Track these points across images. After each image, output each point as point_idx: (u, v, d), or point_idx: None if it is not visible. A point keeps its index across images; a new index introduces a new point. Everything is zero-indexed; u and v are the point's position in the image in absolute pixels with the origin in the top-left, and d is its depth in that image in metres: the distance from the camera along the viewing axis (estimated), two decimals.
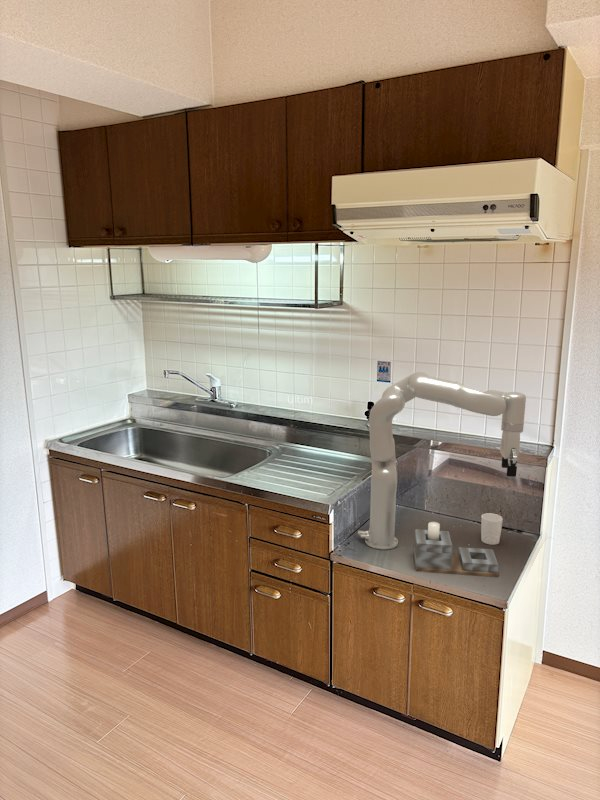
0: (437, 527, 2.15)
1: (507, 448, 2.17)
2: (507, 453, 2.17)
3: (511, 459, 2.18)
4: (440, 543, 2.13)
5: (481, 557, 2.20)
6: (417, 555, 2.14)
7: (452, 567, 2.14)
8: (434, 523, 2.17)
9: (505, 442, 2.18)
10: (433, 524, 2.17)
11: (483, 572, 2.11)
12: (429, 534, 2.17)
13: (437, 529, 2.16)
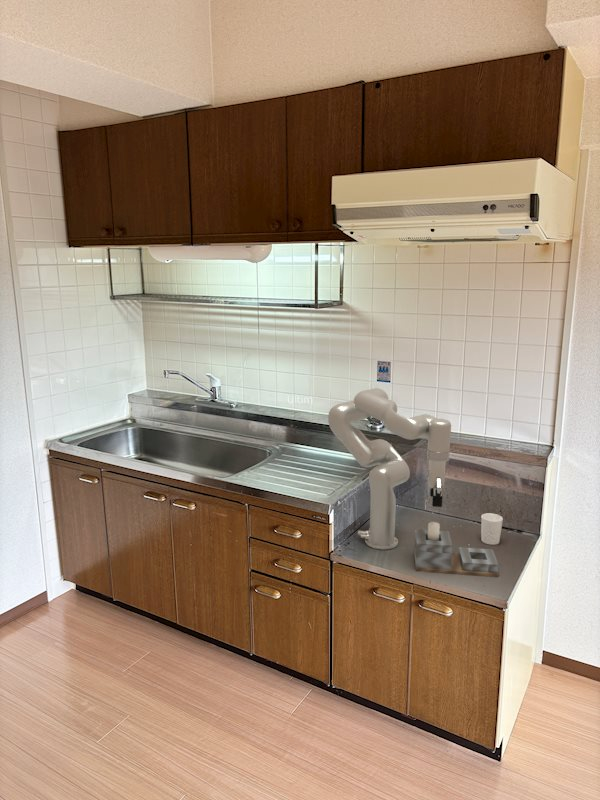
0: (437, 527, 2.15)
1: (432, 477, 2.08)
2: (432, 482, 2.09)
3: (437, 489, 2.10)
4: (440, 543, 2.13)
5: (481, 557, 2.20)
6: (417, 555, 2.14)
7: (452, 567, 2.14)
8: (434, 523, 2.17)
9: (430, 471, 2.10)
10: (433, 524, 2.17)
11: (483, 572, 2.11)
12: (429, 534, 2.17)
13: (437, 529, 2.16)
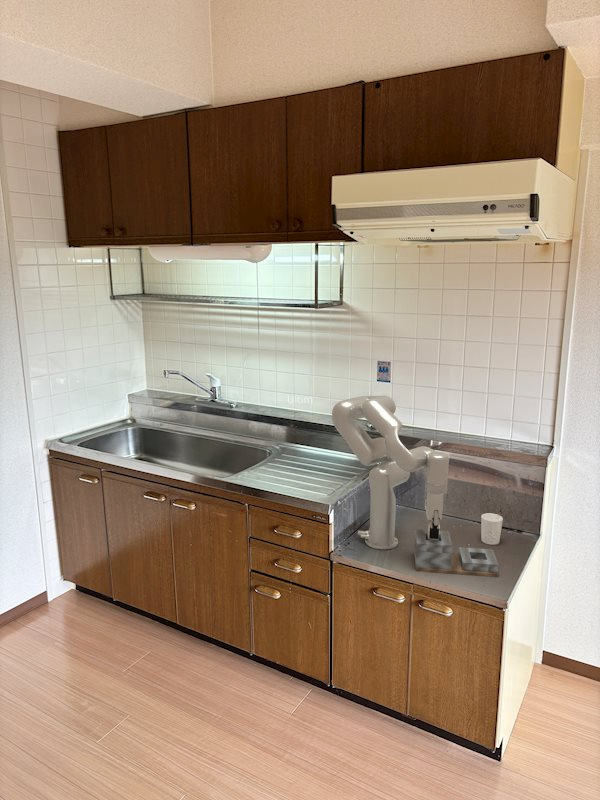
0: None
1: (430, 510, 2.11)
2: (430, 515, 2.11)
3: (434, 521, 2.14)
4: (440, 543, 2.13)
5: (481, 557, 2.20)
6: (417, 555, 2.14)
7: (452, 567, 2.14)
8: None
9: (428, 503, 2.12)
10: None
11: (483, 572, 2.11)
12: None
13: None
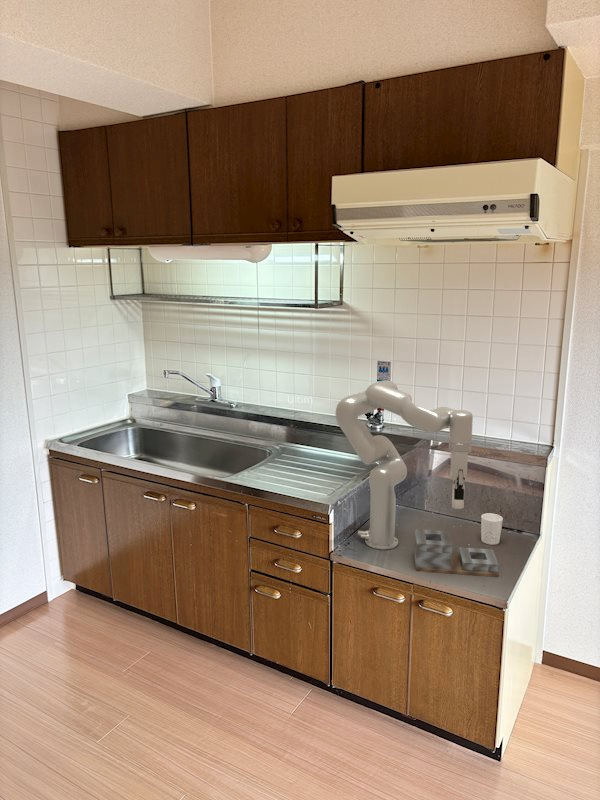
0: None
1: (454, 469, 2.07)
2: (454, 474, 2.07)
3: (458, 481, 2.10)
4: (440, 543, 2.13)
5: (481, 557, 2.20)
6: (417, 555, 2.14)
7: (452, 567, 2.14)
8: None
9: (452, 463, 2.08)
10: None
11: (483, 572, 2.11)
12: None
13: None
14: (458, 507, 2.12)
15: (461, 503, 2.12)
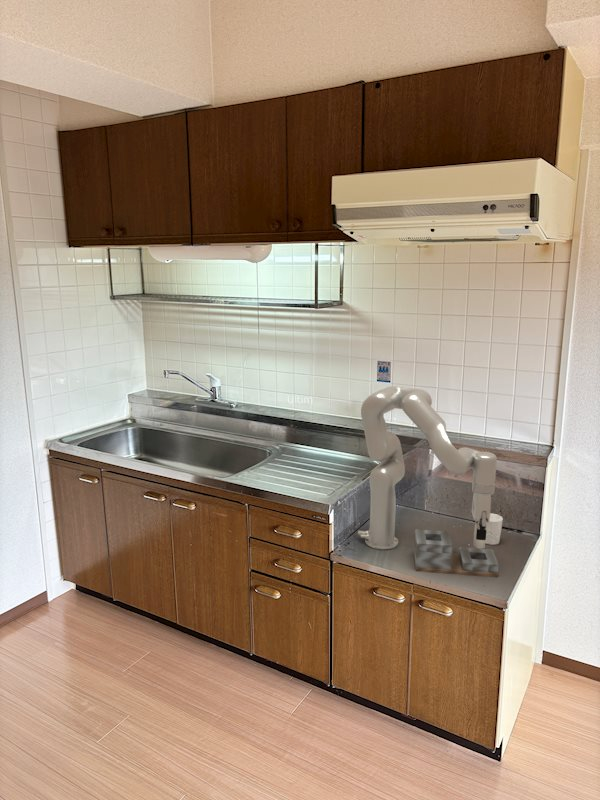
0: None
1: (477, 511, 2.09)
2: (478, 516, 2.09)
3: None
4: (440, 543, 2.13)
5: (481, 557, 2.20)
6: (417, 555, 2.14)
7: (452, 567, 2.14)
8: None
9: (476, 504, 2.10)
10: None
11: (483, 572, 2.11)
12: None
13: None
14: (480, 547, 2.14)
15: (483, 543, 2.14)
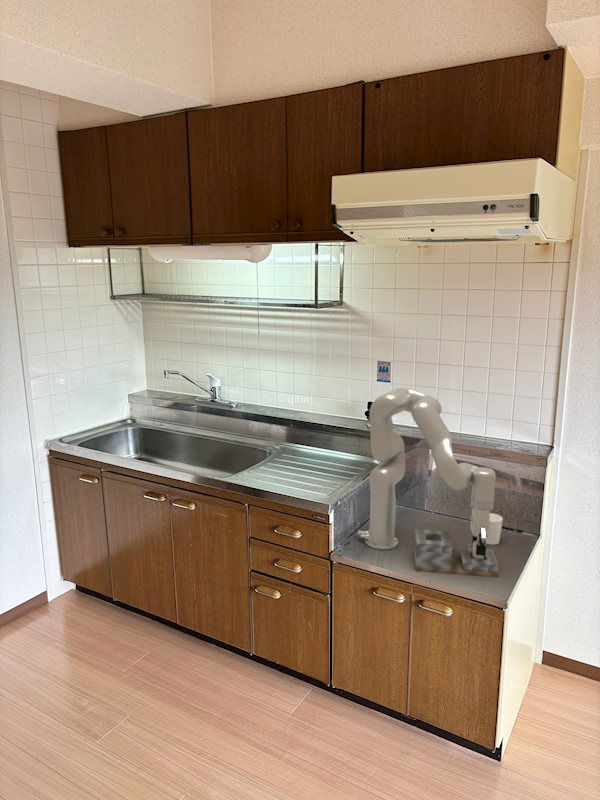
0: None
1: (476, 526, 2.10)
2: (476, 531, 2.10)
3: (480, 537, 2.12)
4: (440, 543, 2.13)
5: None
6: (417, 555, 2.14)
7: (452, 567, 2.14)
8: None
9: (474, 520, 2.11)
10: None
11: (483, 572, 2.11)
12: (474, 553, 2.16)
13: None
14: None
15: None
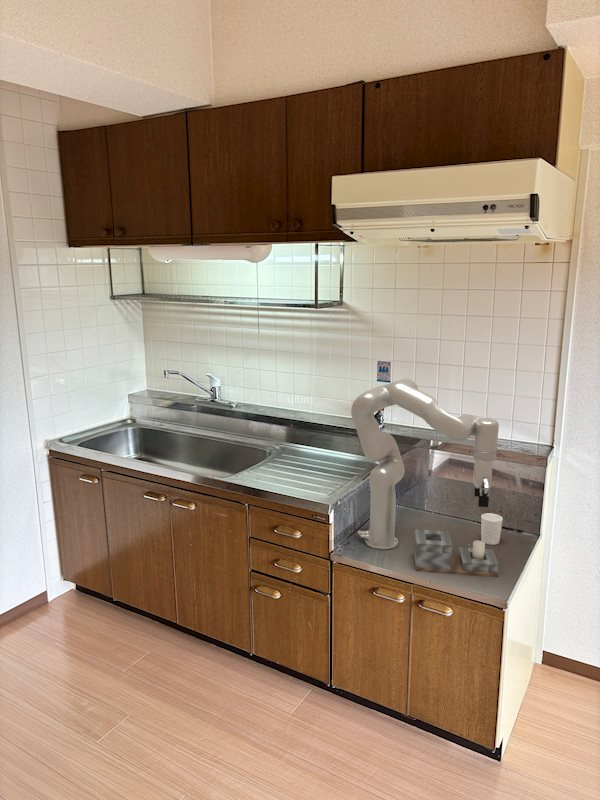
0: (482, 546, 2.14)
1: (479, 477, 2.07)
2: (479, 482, 2.07)
3: (483, 489, 2.08)
4: (440, 543, 2.13)
5: None
6: (417, 555, 2.14)
7: (452, 567, 2.14)
8: (479, 542, 2.16)
9: (477, 471, 2.08)
10: (478, 543, 2.16)
11: (483, 572, 2.11)
12: (474, 553, 2.16)
13: (482, 548, 2.15)
14: None
15: None
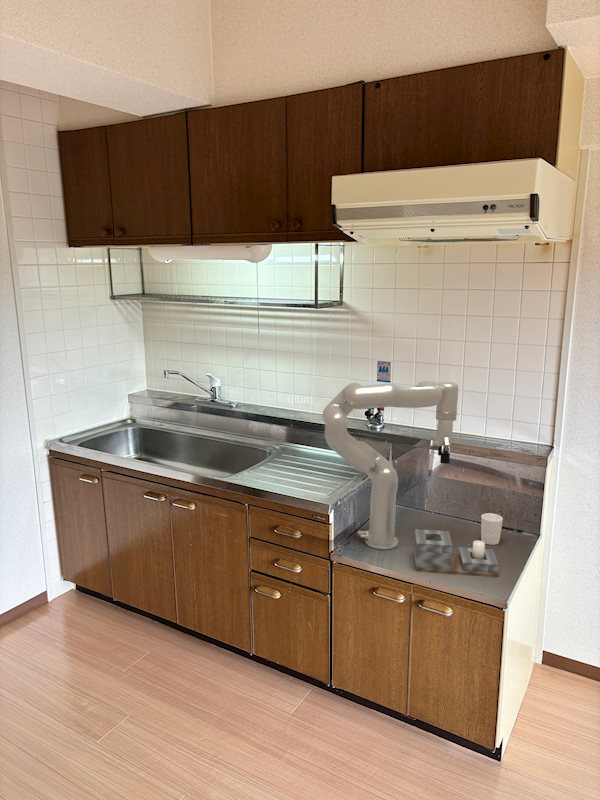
0: (482, 546, 2.14)
1: (440, 436, 2.24)
2: (440, 441, 2.25)
3: (444, 446, 2.26)
4: (440, 543, 2.13)
5: None
6: (417, 555, 2.14)
7: (452, 567, 2.14)
8: (479, 542, 2.16)
9: (438, 430, 2.26)
10: (478, 543, 2.16)
11: (483, 572, 2.11)
12: (474, 553, 2.16)
13: (482, 548, 2.15)
14: None
15: None
